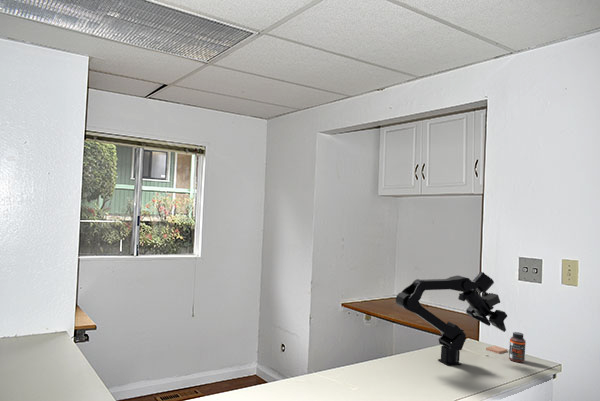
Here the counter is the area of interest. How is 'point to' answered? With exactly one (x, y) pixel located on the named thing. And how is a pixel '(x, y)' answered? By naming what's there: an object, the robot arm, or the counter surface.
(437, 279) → the robot arm
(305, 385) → the counter surface
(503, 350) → the tile
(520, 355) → the supplement bottle
